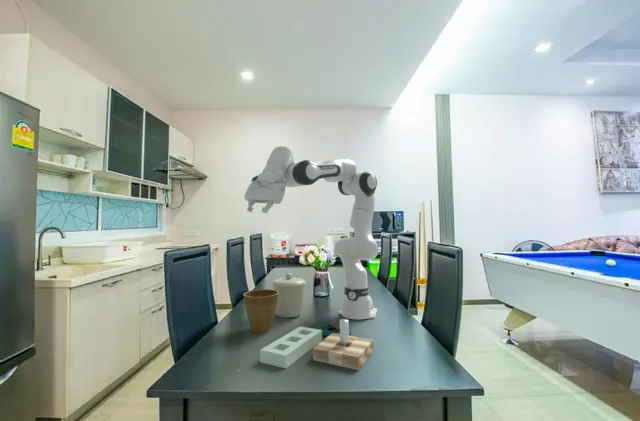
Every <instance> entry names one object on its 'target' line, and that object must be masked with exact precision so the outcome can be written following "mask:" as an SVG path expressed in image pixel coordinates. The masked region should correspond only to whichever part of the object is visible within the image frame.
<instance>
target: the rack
mask: <svg viewBox="0 0 640 421" xmlns="http://www.w3.org/2000/svg"><path fill="white" fill-rule="evenodd" d="M322 341H323V335H322V330H318V329H316V328H311V327H305V326H299V327H297V328H295V329H293V330H292V331H290V332H288V333H287V334H285V335H283V336H282V337H280V338H278V339H276V340H275V341H273V342H271V343H269V344H268V345H266V346H264V347H263V348H261V349H260V350H259V358H260V359H259V363H263V364H265V365H270V366H274V367H277V368H282V369H287V368H289V367H290V366H291V365H292V364H294V363H295V362H296V361H297V360H299V359H300V358H302V357H303V356H304V355H305V354H307V353H308V352H310V351H311V350H313V348H314V347H315V346H316V345H318V344H319V343H320V342H322Z"/></svg>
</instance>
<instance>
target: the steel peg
mask: <svg viewBox="0 0 640 421" xmlns="http://www.w3.org/2000/svg"><path fill="white" fill-rule="evenodd" d="M349 320H350V319H349V318H340V319H339V328H340V346H344V347H349V332H350V323H349V322H350V321H349Z"/></svg>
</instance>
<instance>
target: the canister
mask: <svg viewBox="0 0 640 421" xmlns="http://www.w3.org/2000/svg"><path fill="white" fill-rule="evenodd" d="M270 284H271V287H272V288H271V290H276V291H278V300H277V306H276V311H275V315H276V316H278V317H280V318H284V319H292V318H297V317H299V316H301V314H302V313H303V308H304V301H305V292H306V285H307V281H306V280H305V279H303V278H300V277H293V273H291V272H287V273H286V274H285V277H279V278H276V279H273V281H271V282H270Z"/></svg>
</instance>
